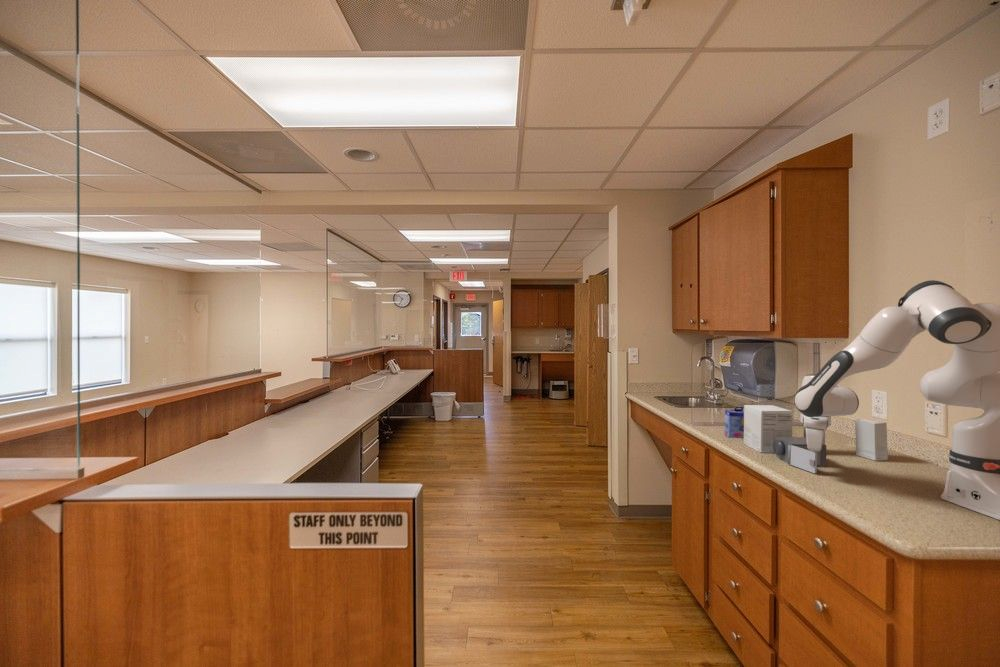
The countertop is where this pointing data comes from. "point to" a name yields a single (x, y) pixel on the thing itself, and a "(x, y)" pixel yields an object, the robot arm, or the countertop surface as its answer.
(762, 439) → the supplement box
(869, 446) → the skincare box
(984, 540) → the countertop surface
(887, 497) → the countertop surface
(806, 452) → the side door
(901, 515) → the countertop surface
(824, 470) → the countertop surface
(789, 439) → the camera housing
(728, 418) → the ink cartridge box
